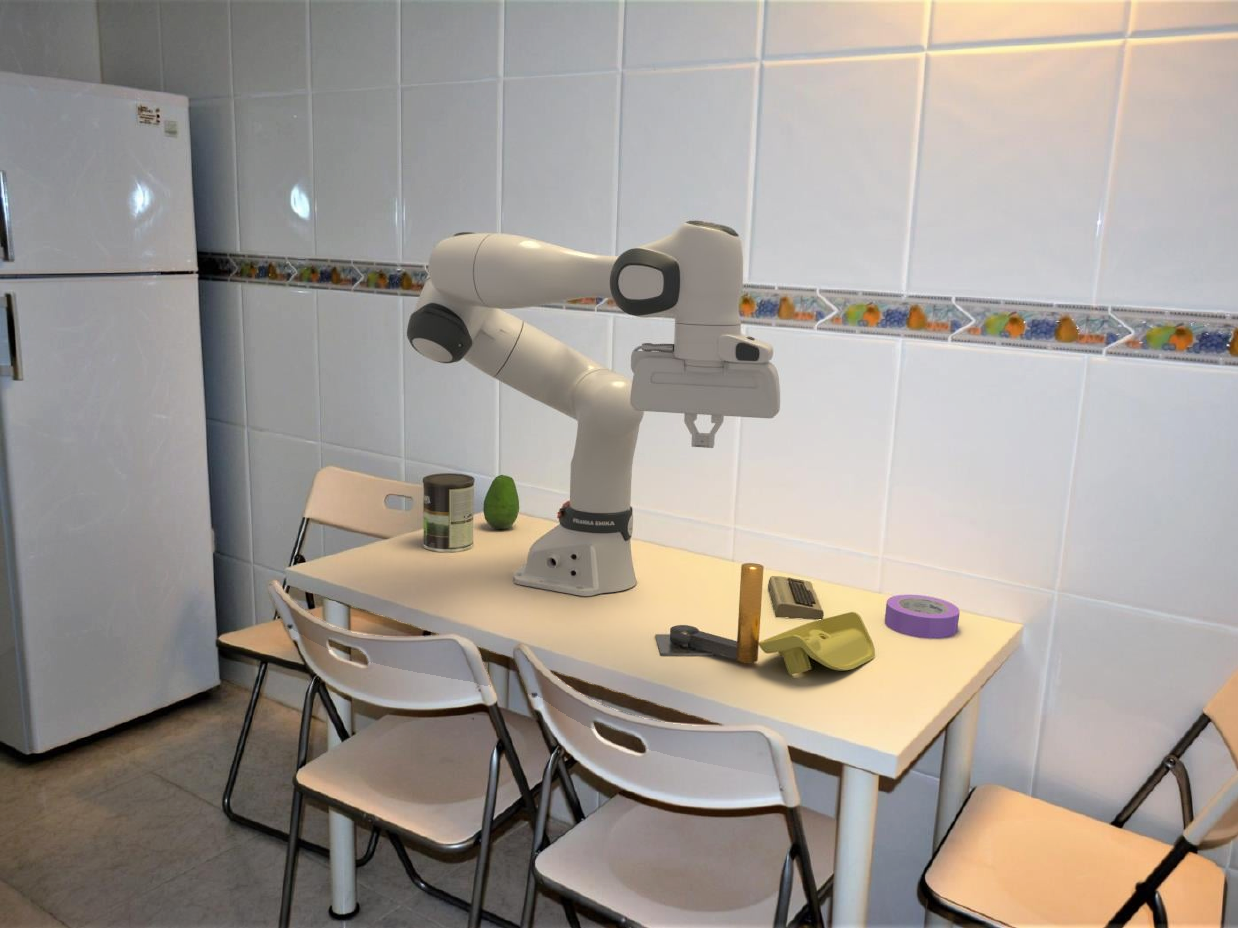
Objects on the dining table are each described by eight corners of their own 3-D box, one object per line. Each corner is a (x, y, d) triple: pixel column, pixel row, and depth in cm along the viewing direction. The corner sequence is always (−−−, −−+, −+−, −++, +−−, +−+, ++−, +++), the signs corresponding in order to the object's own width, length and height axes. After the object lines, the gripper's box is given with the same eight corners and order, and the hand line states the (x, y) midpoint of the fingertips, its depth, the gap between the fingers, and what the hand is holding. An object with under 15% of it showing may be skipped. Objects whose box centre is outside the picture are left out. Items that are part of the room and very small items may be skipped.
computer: (823, 622, 171) (825, 603, 170) (775, 620, 172) (776, 601, 171) (811, 593, 187) (813, 575, 186) (767, 591, 187) (768, 573, 186)
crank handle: (664, 641, 156) (668, 552, 154) (679, 633, 160) (683, 546, 157) (749, 665, 148) (754, 571, 145) (763, 657, 151) (769, 565, 149)
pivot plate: (655, 636, 161) (655, 634, 160) (705, 636, 161) (705, 634, 161) (660, 655, 153) (660, 653, 153) (713, 655, 153) (713, 653, 153)
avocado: (521, 532, 220) (522, 478, 218) (484, 533, 218) (485, 478, 216) (516, 523, 228) (517, 470, 225) (481, 524, 226) (481, 471, 224)
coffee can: (422, 553, 202) (422, 483, 199) (423, 539, 212) (422, 473, 209) (475, 552, 204) (475, 483, 201) (473, 538, 214) (473, 472, 211)
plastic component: (808, 622, 163) (864, 608, 157) (822, 667, 162) (879, 655, 156) (745, 647, 147) (804, 632, 141) (760, 697, 146) (821, 684, 140)
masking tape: (962, 623, 172) (964, 601, 172) (951, 644, 162) (954, 621, 161) (892, 611, 177) (894, 590, 177) (877, 631, 167) (879, 608, 166)
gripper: (626, 343, 136) (623, 445, 139) (780, 350, 131) (774, 455, 134) (636, 340, 142) (634, 438, 145) (784, 346, 137) (779, 447, 140)
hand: (702, 446), depth 140 cm, fingers closed
